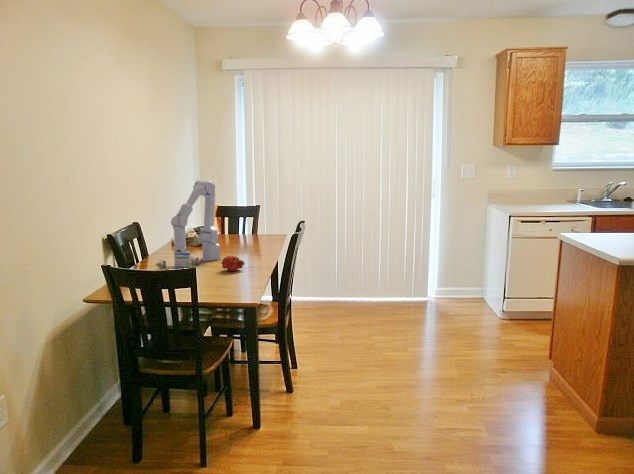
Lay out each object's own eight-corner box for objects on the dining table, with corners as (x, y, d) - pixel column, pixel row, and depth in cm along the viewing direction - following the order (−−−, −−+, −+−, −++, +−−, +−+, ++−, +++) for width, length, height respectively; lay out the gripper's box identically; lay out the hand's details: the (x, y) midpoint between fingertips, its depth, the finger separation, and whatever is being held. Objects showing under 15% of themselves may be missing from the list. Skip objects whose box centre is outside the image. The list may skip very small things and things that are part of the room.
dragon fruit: (220, 273, 257) (243, 276, 258) (218, 266, 250) (242, 270, 250) (223, 258, 261) (246, 261, 262) (222, 251, 254) (245, 255, 254)
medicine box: (174, 269, 258) (174, 253, 255) (174, 266, 262) (173, 250, 259) (190, 268, 260) (190, 253, 258) (190, 265, 264) (189, 249, 262)
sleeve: (192, 259, 281) (192, 252, 280) (199, 265, 268) (199, 257, 267) (158, 263, 272) (157, 255, 272) (163, 268, 259) (162, 261, 259)
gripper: (169, 237, 267) (170, 261, 269) (175, 241, 254) (176, 267, 256) (182, 235, 270) (183, 260, 272) (189, 240, 257) (190, 266, 260)
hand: (181, 263), depth 265 cm, fingers closed
